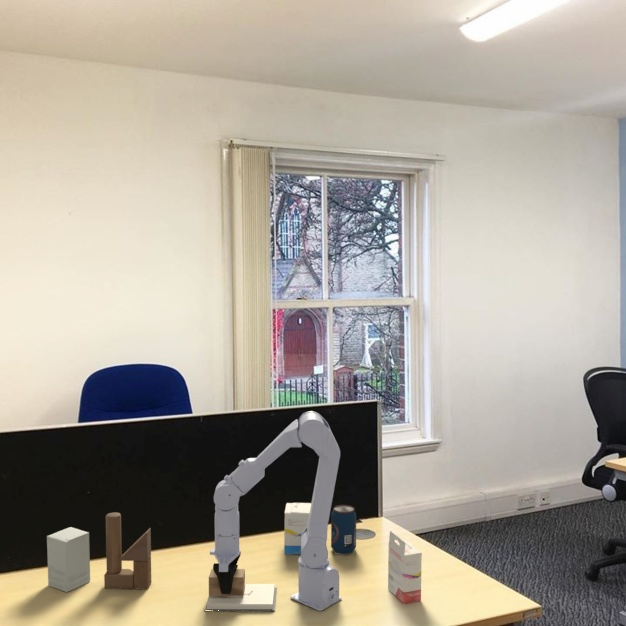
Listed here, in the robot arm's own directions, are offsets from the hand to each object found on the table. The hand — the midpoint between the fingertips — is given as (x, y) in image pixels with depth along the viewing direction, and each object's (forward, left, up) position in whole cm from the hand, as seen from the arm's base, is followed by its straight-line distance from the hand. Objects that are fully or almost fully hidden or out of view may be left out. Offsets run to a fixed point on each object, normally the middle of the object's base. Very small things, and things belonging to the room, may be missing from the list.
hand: (227, 588), depth 163 cm
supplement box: (+35, +21, -3) cm, 41 cm away
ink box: (+7, -33, -3) cm, 34 cm away
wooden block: (+23, +12, -3) cm, 26 cm away
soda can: (-3, -40, -3) cm, 40 cm away
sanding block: (0, 0, -1) cm, 1 cm away
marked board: (-3, -2, -3) cm, 4 cm away
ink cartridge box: (-30, -30, -3) cm, 42 cm away
